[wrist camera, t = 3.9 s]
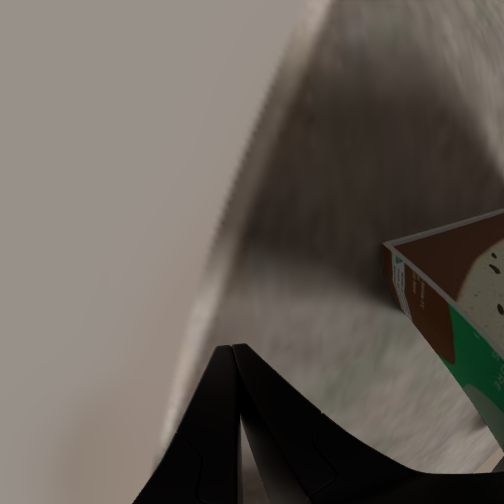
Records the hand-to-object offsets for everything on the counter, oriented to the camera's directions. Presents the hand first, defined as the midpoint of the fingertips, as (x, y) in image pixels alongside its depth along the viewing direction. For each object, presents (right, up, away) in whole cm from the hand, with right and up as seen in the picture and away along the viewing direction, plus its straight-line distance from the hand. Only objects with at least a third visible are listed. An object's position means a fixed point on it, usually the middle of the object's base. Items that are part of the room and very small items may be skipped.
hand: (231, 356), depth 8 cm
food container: (+10, +2, +4) cm, 11 cm away
